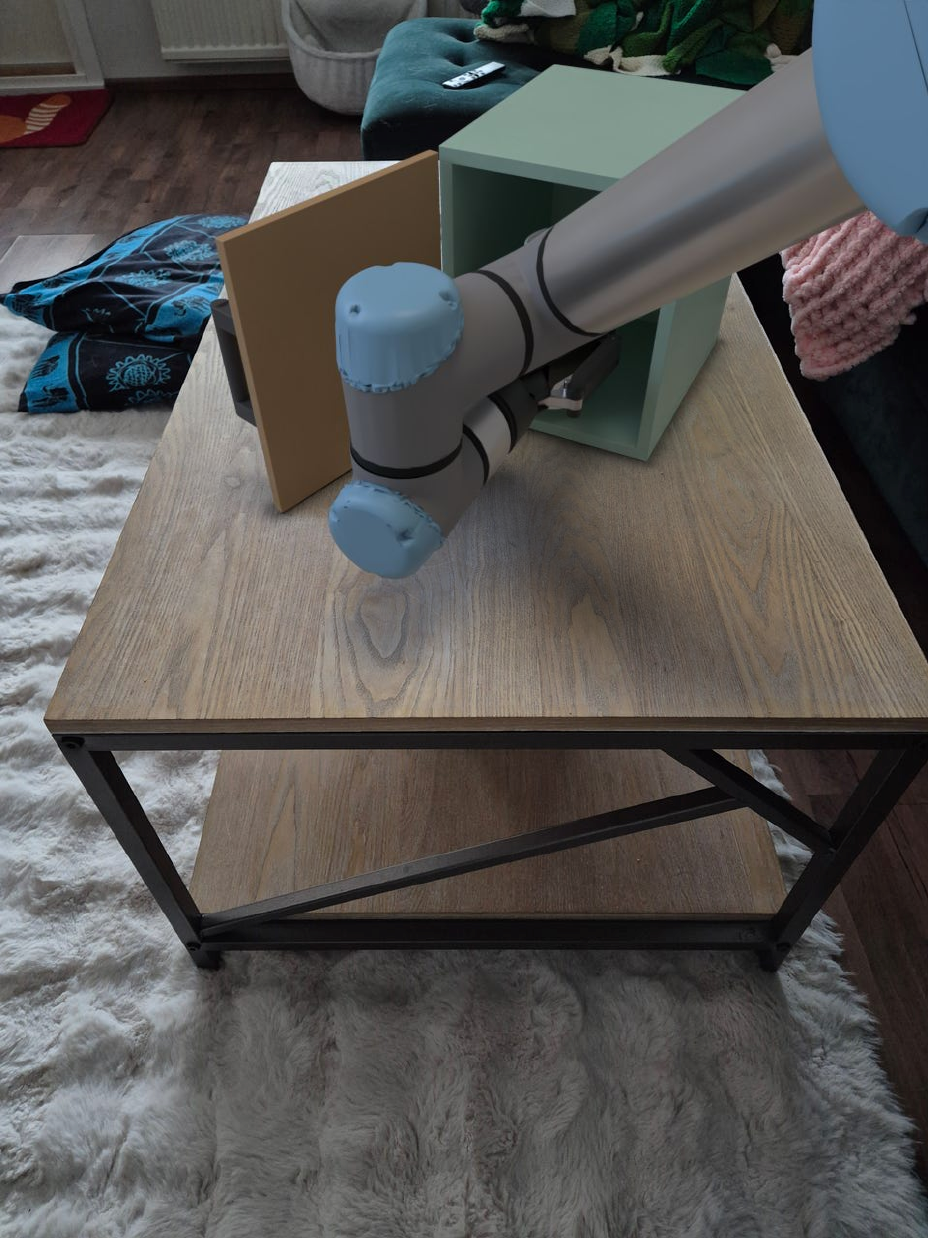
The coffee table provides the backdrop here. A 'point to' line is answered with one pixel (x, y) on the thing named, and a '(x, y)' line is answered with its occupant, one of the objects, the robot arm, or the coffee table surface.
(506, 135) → the box
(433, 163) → the fridge door
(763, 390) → the coffee table surface
